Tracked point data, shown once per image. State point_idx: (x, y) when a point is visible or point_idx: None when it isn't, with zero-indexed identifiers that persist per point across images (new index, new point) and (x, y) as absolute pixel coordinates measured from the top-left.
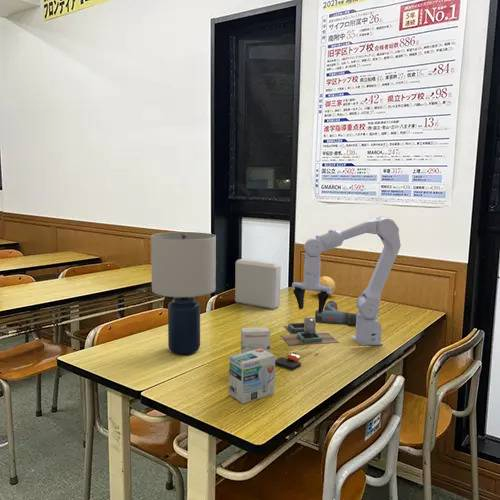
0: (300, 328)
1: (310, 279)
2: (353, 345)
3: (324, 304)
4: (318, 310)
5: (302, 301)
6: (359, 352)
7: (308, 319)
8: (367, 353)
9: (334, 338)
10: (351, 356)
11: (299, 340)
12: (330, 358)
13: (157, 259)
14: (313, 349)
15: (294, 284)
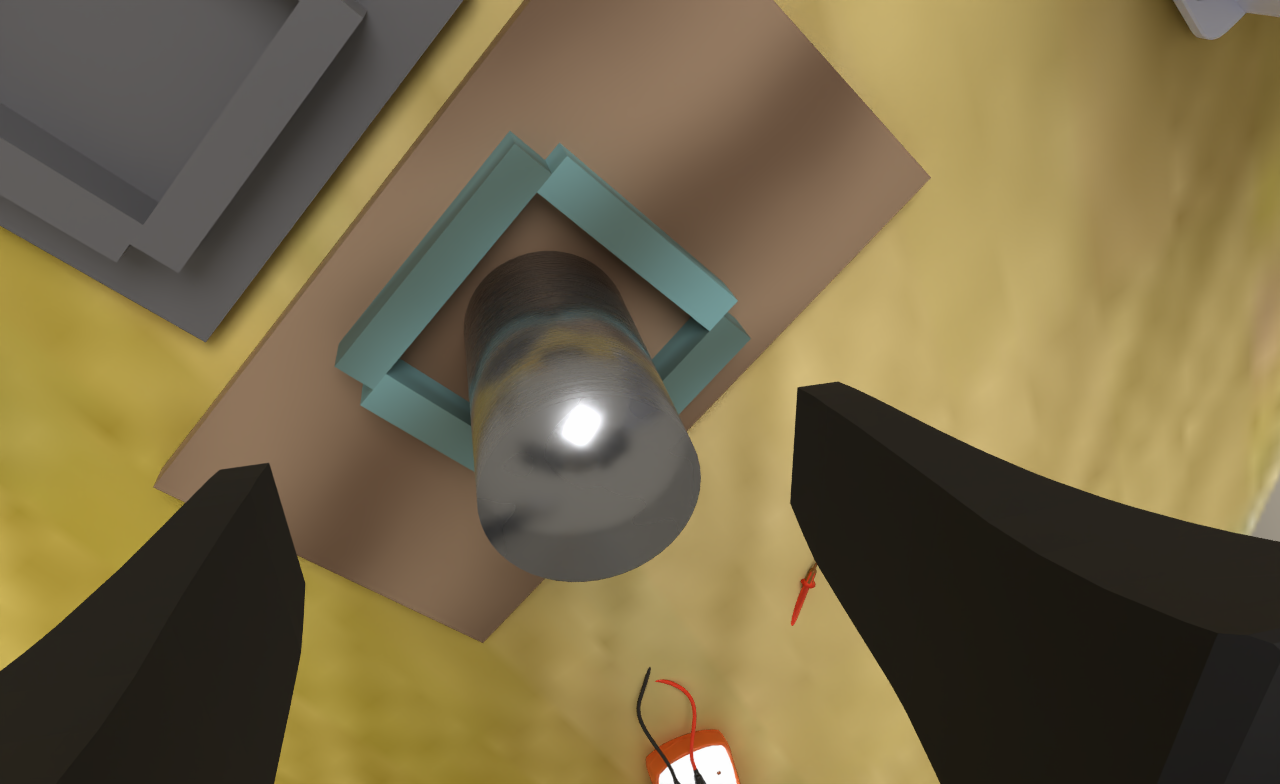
0: (215, 157)
1: None
2: (1090, 81)
3: (975, 466)
4: (811, 551)
5: (224, 636)
6: (1173, 257)
7: (572, 517)
8: (1253, 226)
9: (838, 82)
10: (1107, 406)
11: None
12: None
13: None
14: (723, 503)
15: None
